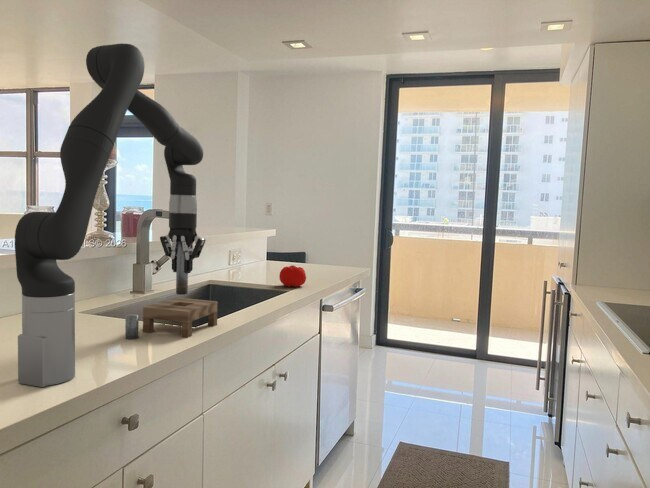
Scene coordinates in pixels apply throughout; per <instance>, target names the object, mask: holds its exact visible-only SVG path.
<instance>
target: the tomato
mask: <svg viewBox="0 0 650 488" xmlns="http://www.w3.org/2000/svg"><path fill="white" fill-rule="evenodd" d="M278 277H279V281H280V283H281V284H282V285H283V286H285V287H287V286H288V288H293V287H294V288H298V287H300V286H302V285H304V284H305V283H306V281H307V275H306V272H305V269H304V268H303V267H301V266H299V267H298V266H296V265H294V264H293V265H292V264H291V265H288V266H284V267H283V268H281V270H280V272H279V276H278ZM291 286H292V287H291Z"/></svg>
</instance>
